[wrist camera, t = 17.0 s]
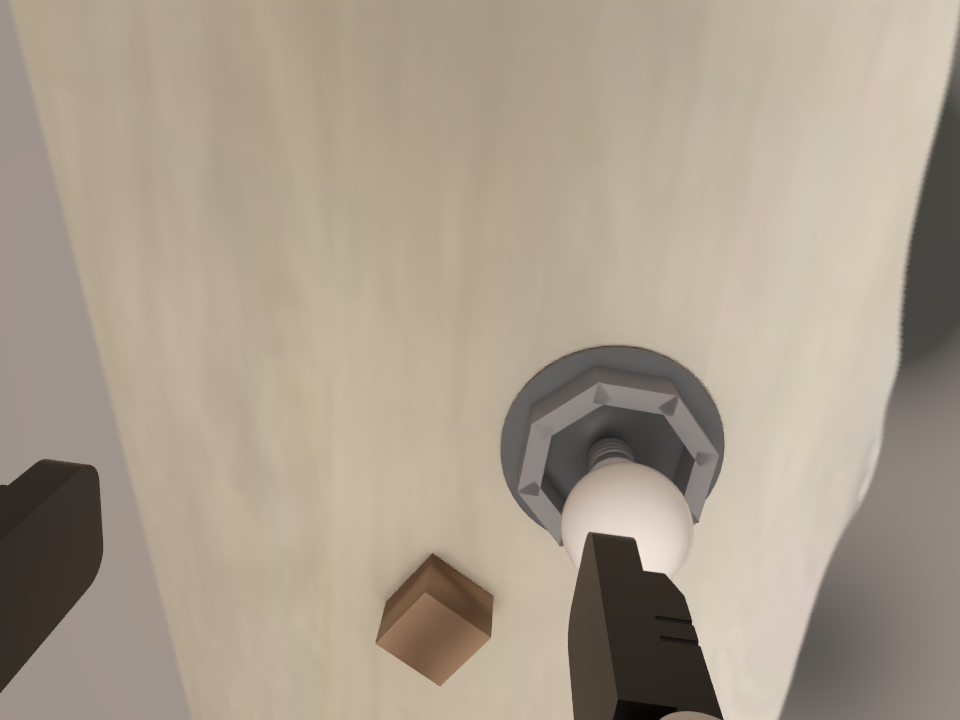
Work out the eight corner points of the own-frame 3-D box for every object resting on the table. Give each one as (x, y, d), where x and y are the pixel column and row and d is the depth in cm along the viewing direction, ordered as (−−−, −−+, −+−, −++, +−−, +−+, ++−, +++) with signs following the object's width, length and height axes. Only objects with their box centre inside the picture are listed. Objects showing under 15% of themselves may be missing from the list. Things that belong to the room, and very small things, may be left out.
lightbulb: (686, 448, 44) (736, 562, 34) (611, 518, 46) (637, 646, 36) (606, 382, 43) (632, 479, 33) (532, 457, 45) (535, 571, 34)
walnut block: (386, 600, 50) (375, 643, 46) (432, 552, 48) (425, 592, 45) (446, 641, 51) (439, 686, 47) (493, 594, 49) (490, 637, 45)
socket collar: (457, 423, 45) (453, 446, 42) (647, 302, 42) (656, 318, 39) (578, 576, 48) (582, 607, 45) (762, 474, 45) (778, 501, 42)
